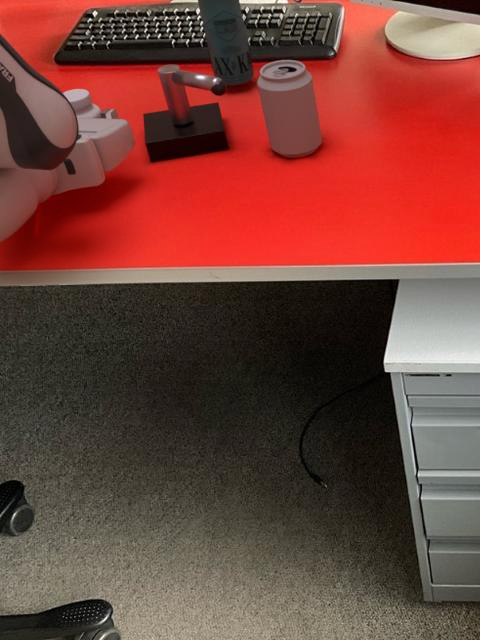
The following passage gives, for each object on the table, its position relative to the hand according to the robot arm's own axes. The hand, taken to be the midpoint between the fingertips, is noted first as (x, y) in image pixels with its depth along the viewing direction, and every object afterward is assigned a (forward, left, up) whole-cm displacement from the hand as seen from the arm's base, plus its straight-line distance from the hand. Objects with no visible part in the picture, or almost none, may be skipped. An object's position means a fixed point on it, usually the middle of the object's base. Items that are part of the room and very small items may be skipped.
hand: (80, 112), depth 124 cm
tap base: (+13, +1, -7) cm, 15 cm away
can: (+28, -7, -7) cm, 30 cm away
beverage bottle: (+22, +18, -7) cm, 29 cm away
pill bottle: (0, -1, -7) cm, 7 cm away
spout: (+16, -2, -4) cm, 16 cm away
